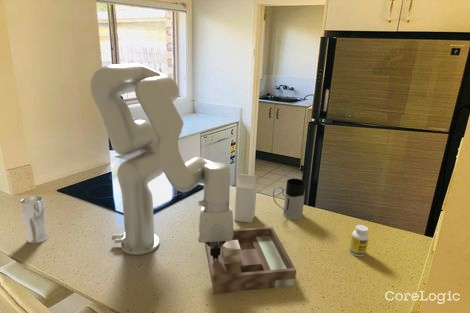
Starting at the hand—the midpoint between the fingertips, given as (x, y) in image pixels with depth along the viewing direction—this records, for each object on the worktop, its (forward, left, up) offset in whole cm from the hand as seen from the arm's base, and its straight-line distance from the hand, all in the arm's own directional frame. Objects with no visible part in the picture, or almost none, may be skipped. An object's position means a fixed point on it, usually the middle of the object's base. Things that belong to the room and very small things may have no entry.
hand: (215, 256), depth 102 cm
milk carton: (+16, +29, -4) cm, 33 cm away
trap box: (+10, 0, -4) cm, 11 cm away
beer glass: (-59, +23, -4) cm, 63 cm away
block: (+5, 0, -1) cm, 5 cm away
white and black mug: (+34, +29, -4) cm, 45 cm away
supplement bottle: (+50, +1, -4) cm, 50 cm away
